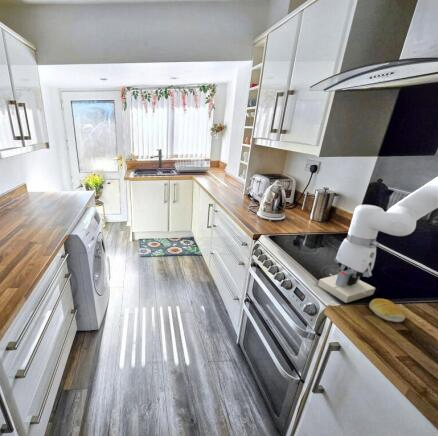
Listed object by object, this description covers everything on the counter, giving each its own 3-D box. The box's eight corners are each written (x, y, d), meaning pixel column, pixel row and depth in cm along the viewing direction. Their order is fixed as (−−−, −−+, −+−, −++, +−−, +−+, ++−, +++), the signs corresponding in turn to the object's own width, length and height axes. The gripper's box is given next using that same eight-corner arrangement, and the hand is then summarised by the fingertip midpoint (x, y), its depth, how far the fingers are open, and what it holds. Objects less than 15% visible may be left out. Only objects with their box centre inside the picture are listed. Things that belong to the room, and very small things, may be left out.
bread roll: (388, 305, 85) (392, 295, 83) (409, 324, 77) (413, 314, 75) (362, 302, 86) (365, 293, 85) (379, 321, 78) (383, 311, 77)
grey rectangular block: (352, 279, 94) (356, 266, 92) (358, 282, 92) (362, 269, 90) (335, 284, 92) (338, 271, 90) (340, 287, 90) (344, 274, 88)
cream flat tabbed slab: (340, 276, 101) (342, 270, 100) (376, 296, 89) (379, 289, 88) (315, 283, 97) (316, 277, 96) (349, 305, 85) (351, 298, 84)
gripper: (395, 247, 79) (377, 293, 86) (344, 229, 93) (333, 269, 100) (379, 251, 77) (362, 297, 84) (330, 232, 91) (319, 273, 98)
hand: (347, 282), depth 92 cm, fingers closed on grey rectangular block, 2 cm apart
